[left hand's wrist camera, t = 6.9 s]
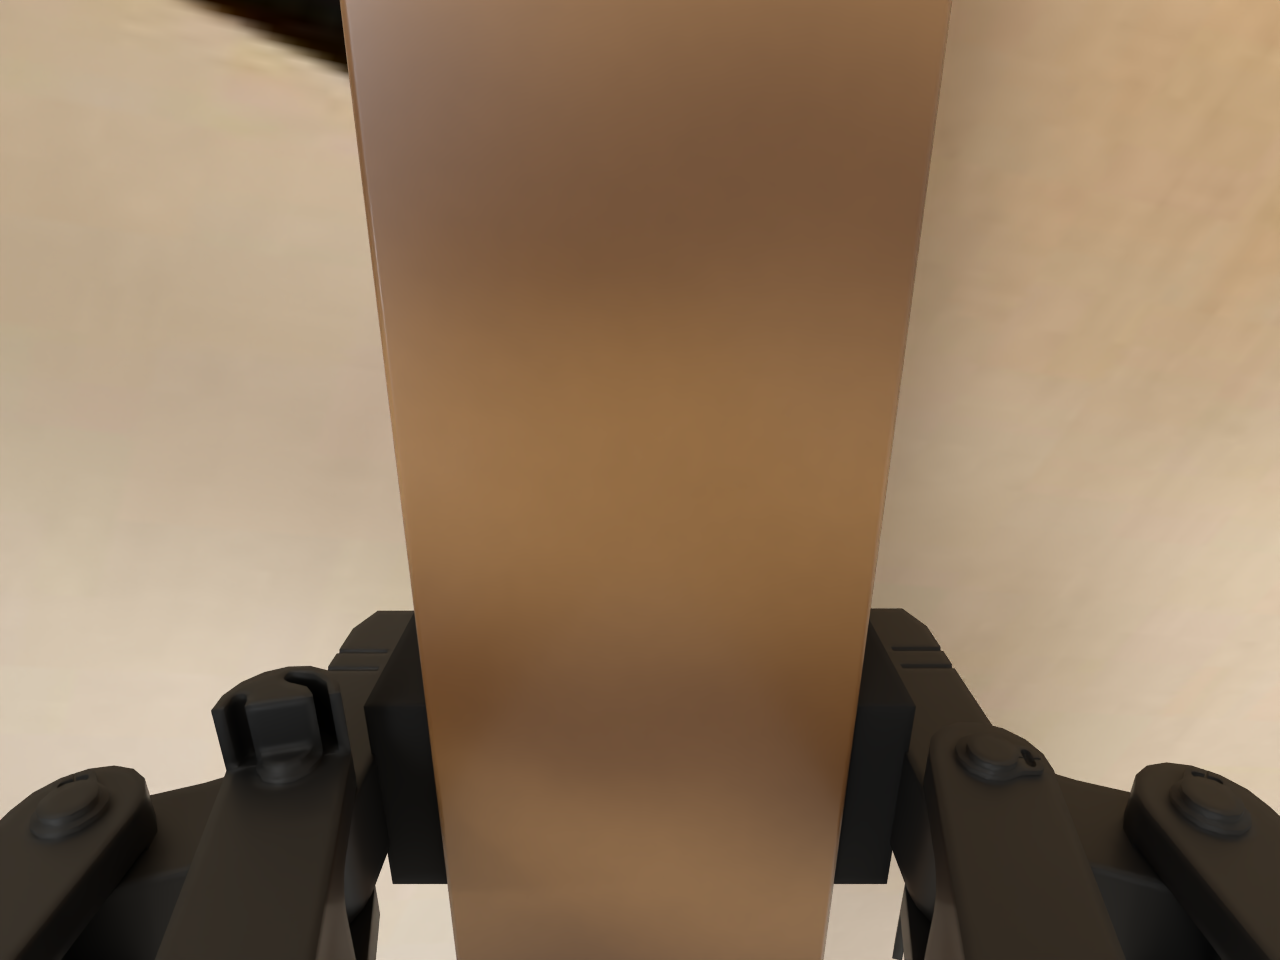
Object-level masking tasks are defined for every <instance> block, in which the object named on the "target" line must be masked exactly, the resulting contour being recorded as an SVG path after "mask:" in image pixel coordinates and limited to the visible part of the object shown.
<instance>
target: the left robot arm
mask: <svg viewBox="0 0 1280 960" xmlns="http://www.w3.org/2000/svg"><path fill="white" fill-rule="evenodd" d="M211 712H212V716H213V720H214V724H215V728H216V732H217V736H218V739H219V743H220V747H221V751H222V755H223V759H224V763H225V767H226V774H225V776H224V777H223V778H220V779H216V780H213V781H210V782H206V783H203V784H198V785H194V786H189V787H185V788H181V789H176V790H172V791H167V792H163V793H159V794H154V795H150V794H149V791H148V788H147V785H146V781H145V778H144V777H142V776H141V775H140V774H139V773H138V772H137V771H135V770H134V769H131V768H125V767H119V766H107V767H99V768H92V769H87V770H84V771H81V772H77V773H75V774H71V775H69V776H66V777H63V778H60V779H58V780H56V781H54V782H52V783H51V784H49V785H47V786H45V787H43V788H41V789H39V790H37V791H35V792H34V793H32V794H31V795H30V796H28V797H27V798H26V799H24V800H23V801H22V802H21V803H19V804H18V805H17V806H15V807H14V808H13V809H12V810H10V811H9V812H8V813H7V814H6V815H5V816H4V817H3V818H2V819H1V820H0V960H376V951H377V940H378V929H379V919H380V912H379V905H378V899H377V893H376V887H375V884H376V882H377V879H378V876H379V874H380V871H381V868H382V866H383V863H384V861H385V858H386V855H387V853H388V858H389V864H390V870H391V876H392V882H393V884H447V876H446V867H445V859H444V851H443V843H442V835H441V826H440V818H439V810H438V802H437V793H436V785H435V777H434V769H433V761H432V752H431V744H430V736H429V728H428V720H427V711H426V703H425V695H424V687H423V679H422V670H421V662H420V654H419V646H418V638H417V629H416V621H415V613H414V611H377V612H375V613H374V614H373V615H371V616H370V617H369V618H367V619H366V620H364V621H363V622H362V623H360V624H359V625H358V626H356V627H355V628H353V630H352V631H351V633H350V634H349V636H348V637H347V639H346V640H345V642H344V643H343V645H342V646H341V648H340V652H339V653H337V654H336V656H335V657H334V659H333V660H332V662H331V663H330V665H329V666H328V670H324V669H320V668H316V667H312V666H294V667H285V668H280V669H276V670H272V671H267V672H264V673H261V674H259V675H257V676H255V677H252V678H250V679H248V680H245V681H243V682H241V683H240V684H238V685H237V686H235V687H234V688H233V689H231V690H230V691H228V692H227V693H226V694H224V695H223V696H222V697H221V698H220V700H219V701H218V702H217V704H216V705H215V706H214V708H213V709H212V710H211ZM892 850H893V853H894V856H895V858H896V861H897V863H898V866H899V869H900V871H901V874H902V876H903V879H904V882H905V887H904V893H903V898H902V904H901V910H900V915H899V921H898V927H897V932H896V938H895V944H894V950H893V957H892V958H893V959H898V960H902V957H903V952H904V960H1280V816H1279V815H1278V814H1277V813H1276V812H1275V811H1274V810H1273V809H1272V808H1271V807H1269V806H1268V805H1267V804H1266V803H1264V802H1263V801H1262V800H1260V799H1259V798H1258V797H1257V796H1255V795H1254V794H1253V793H1251V792H1250V791H1249V790H1248V789H1246V788H1244V787H1242V786H1240V785H1238V784H1236V783H1234V782H1232V781H1230V780H1229V779H1227V778H1225V777H1223V776H1221V775H1218V774H1215V773H1213V772H1210V771H1206V770H1204V769H1200V768H1197V767H1194V766H1190V765H1182V764H1174V763H1160V764H1154V765H1148V766H1146V767H1145V768H1144V769H1142V770H1141V771H1140V772H1139V773H1138V774H1137V775H1136V776H1135V780H1134V783H1133V786H1132V789H1131V792H1126V791H1122V790H1117V789H1113V788H1108V787H1104V786H1099V785H1095V784H1091V783H1086V782H1082V781H1077V780H1074V779H1070V778H1067V777H1064V776H1060V775H1057V774H1055V772H1054V770H1053V768H1052V767H1051V765H1050V764H1049V762H1048V761H1047V759H1046V758H1045V756H1044V755H1043V753H1041V752H1040V751H1039V750H1038V749H1036V748H1035V747H1034V746H1033V745H1031V744H1030V743H1029V742H1028V741H1027V740H1025V739H1023V738H1021V737H1019V736H1017V735H1015V734H1013V733H1011V732H1009V731H1007V730H1005V729H1003V728H999V727H995V726H992V724H991V723H990V721H989V720H988V718H987V717H986V715H985V714H984V712H983V711H982V709H981V708H980V706H979V705H978V703H977V702H976V700H975V699H974V697H973V696H972V694H971V693H970V691H969V690H968V688H967V687H966V685H965V683H964V682H963V680H962V679H961V677H960V676H959V674H958V673H957V671H956V670H955V668H952V664H951V662H950V661H949V659H948V658H947V656H946V655H945V653H944V652H943V651H941V650H940V646H939V644H938V643H937V641H936V640H935V638H934V637H933V635H932V633H931V632H930V630H929V629H928V627H927V626H926V625H924V624H923V623H921V622H920V621H919V620H917V619H916V618H915V617H913V616H912V615H910V614H909V613H908V612H906V611H905V610H903V609H870V616H869V623H868V631H867V638H866V646H865V653H864V661H863V668H862V676H861V683H860V690H859V698H858V705H857V713H856V720H855V728H854V735H853V743H852V750H851V758H850V765H849V772H848V780H847V787H846V795H845V802H844V810H843V817H842V825H841V832H840V840H839V847H838V854H837V862H836V869H835V877H834V884H887V879H888V873H889V867H890V861H891V855H892Z"/></svg>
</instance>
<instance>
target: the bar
mask: <svg viewBox="0 0 1280 960" xmlns="http://www.w3.org/2000/svg"><path fill="white" fill-rule="evenodd" d="M951 5H952V0H340V6H341V14H342V22H343V30H344V38H345V47H346V55H347V63H348V71H349V79H350V88H351V96H352V104H353V112H354V120H355V129H356V137H357V145H358V153H359V162H360V170H361V178H362V186H363V194H364V203H365V211H366V219H367V227H368V235H369V244H370V252H371V260H372V268H373V276H374V285H375V293H376V301H377V309H378V317H379V326H380V334H381V342H382V350H383V359H384V367H385V375H386V383H387V391H388V400H389V408H390V416H391V424H392V432H393V441H394V449H395V457H396V465H397V473H398V482H399V490H400V498H401V506H402V514H403V523H404V531H405V539H406V547H407V555H408V564H409V572H410V580H411V588H412V597H413V605H414V613H415V621H416V629H417V638H418V646H419V654H420V662H421V670H422V679H423V687H424V695H425V703H426V711H427V720H428V728H429V736H430V744H431V752H432V761H433V769H434V777H435V785H436V793H437V802H438V810H439V818H440V826H441V835H442V843H443V851H444V859H445V867H446V876H447V884H448V892H449V900H450V908H451V917H452V925H453V933H454V941H455V949H456V958H457V960H823V959H824V951H825V944H826V936H827V929H828V922H829V914H830V907H831V899H832V892H833V884H834V877H835V869H836V862H837V854H838V847H839V840H840V832H841V825H842V817H843V810H844V802H845V795H846V787H847V780H848V772H849V765H850V758H851V750H852V743H853V735H854V728H855V720H856V713H857V705H858V698H859V690H860V683H861V676H862V668H863V661H864V653H865V646H866V638H867V631H868V623H869V616H870V608H871V601H872V594H873V586H874V579H875V571H876V564H877V556H878V549H879V541H880V534H881V526H882V519H883V511H884V504H885V497H886V489H887V482H888V474H889V467H890V459H891V452H892V444H893V437H894V429H895V422H896V415H897V407H898V400H899V392H900V385H901V377H902V370H903V362H904V355H905V347H906V340H907V333H908V325H909V318H910V310H911V303H912V295H913V288H914V280H915V273H916V265H917V258H918V251H919V243H920V236H921V228H922V221H923V213H924V206H925V198H926V191H927V183H928V176H929V169H930V161H931V154H932V146H933V139H934V131H935V124H936V116H937V109H938V101H939V94H940V87H941V79H942V72H943V64H944V57H945V49H946V42H947V34H948V27H949V19H950V12H951Z"/></svg>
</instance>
